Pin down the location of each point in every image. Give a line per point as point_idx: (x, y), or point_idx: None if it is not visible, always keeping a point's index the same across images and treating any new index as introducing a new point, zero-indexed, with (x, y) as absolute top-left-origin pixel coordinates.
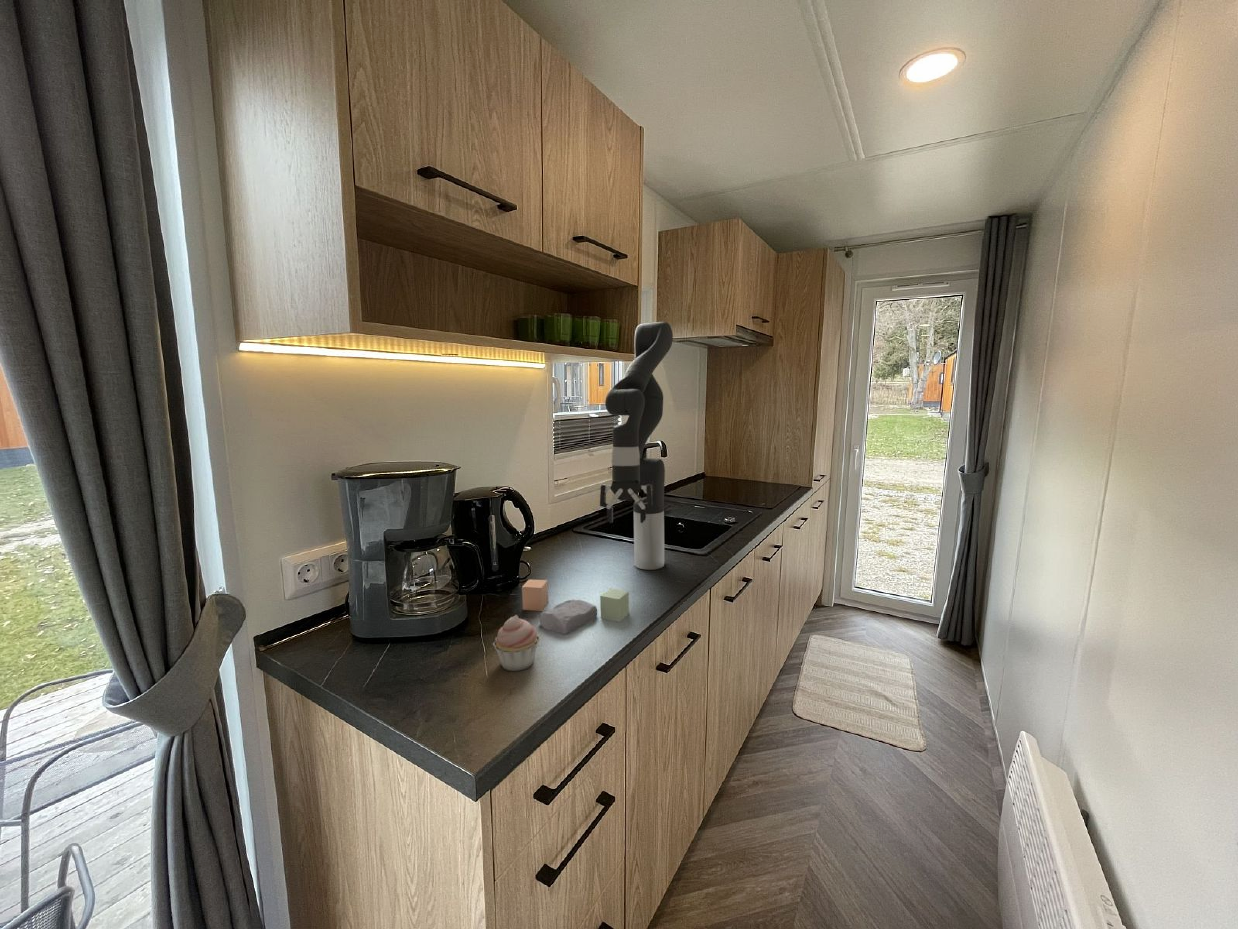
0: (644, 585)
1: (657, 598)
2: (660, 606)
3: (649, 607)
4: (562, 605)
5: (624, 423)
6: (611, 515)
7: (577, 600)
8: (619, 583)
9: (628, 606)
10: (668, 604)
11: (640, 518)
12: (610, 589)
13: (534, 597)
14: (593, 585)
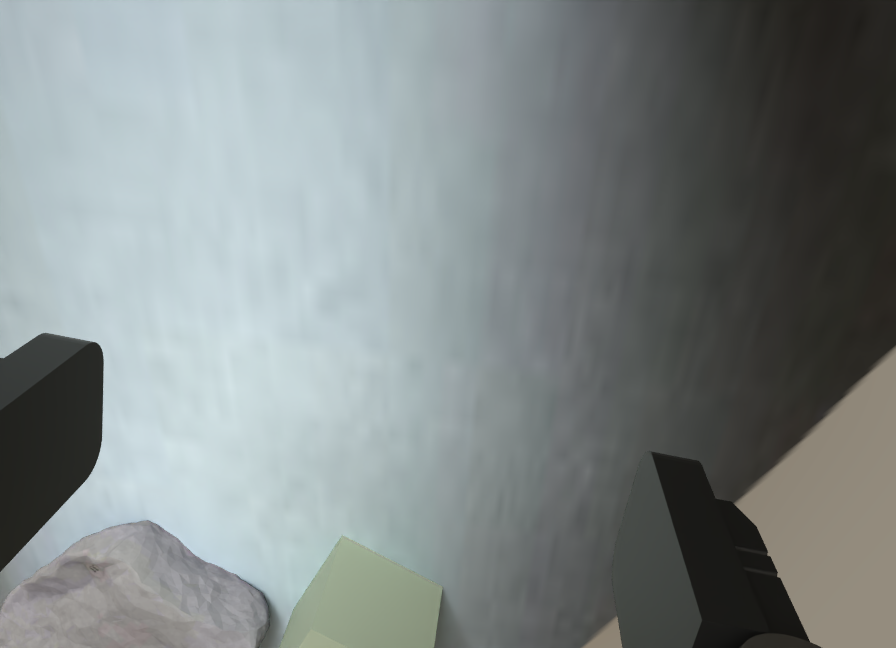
0: (590, 212)
1: (642, 439)
2: None
3: (567, 543)
4: (63, 590)
5: None
6: (20, 543)
7: (133, 606)
8: (393, 148)
9: (436, 618)
10: None
11: (620, 623)
12: (312, 644)
13: None
14: (192, 168)
